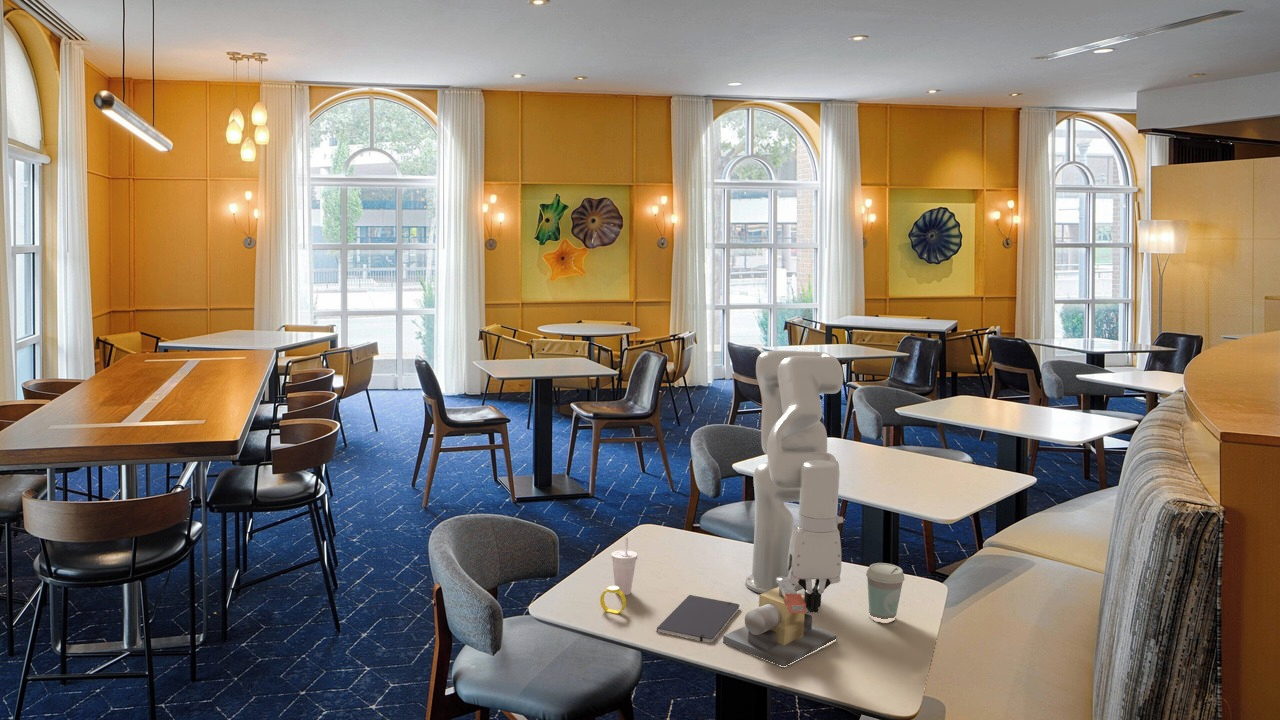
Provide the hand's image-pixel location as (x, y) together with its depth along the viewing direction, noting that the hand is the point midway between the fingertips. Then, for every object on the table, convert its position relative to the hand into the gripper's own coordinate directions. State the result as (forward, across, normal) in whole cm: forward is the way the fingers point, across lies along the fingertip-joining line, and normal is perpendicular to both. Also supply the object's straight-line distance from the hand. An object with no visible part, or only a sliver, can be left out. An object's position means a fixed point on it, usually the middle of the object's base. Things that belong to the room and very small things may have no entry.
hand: (811, 610), depth 189 cm
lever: (-1, +3, -5) cm, 6 cm away
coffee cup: (+12, -24, -22) cm, 35 cm away
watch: (+12, +37, -29) cm, 49 cm away
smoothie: (+12, +34, -40) cm, 54 cm away
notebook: (+12, +18, -23) cm, 32 cm away
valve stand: (+12, +3, -11) cm, 16 cm away
